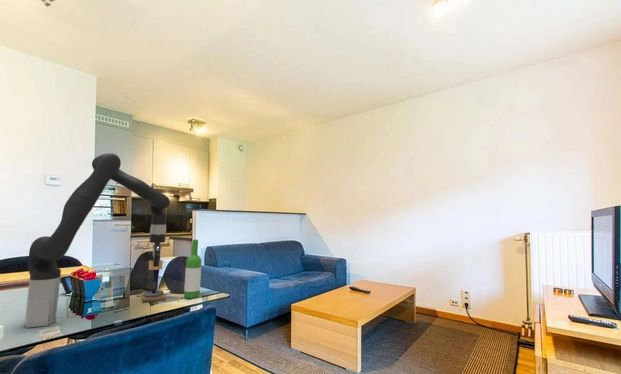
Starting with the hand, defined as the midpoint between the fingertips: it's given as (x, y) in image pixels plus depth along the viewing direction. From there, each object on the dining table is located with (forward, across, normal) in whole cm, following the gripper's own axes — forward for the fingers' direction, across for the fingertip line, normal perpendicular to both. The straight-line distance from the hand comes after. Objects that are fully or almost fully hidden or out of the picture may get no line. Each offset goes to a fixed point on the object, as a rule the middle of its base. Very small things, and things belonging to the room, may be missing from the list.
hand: (155, 265), depth 161 cm
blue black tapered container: (+17, -25, -33) cm, 45 cm away
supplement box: (+17, -6, -28) cm, 33 cm away
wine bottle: (+17, +6, +18) cm, 25 cm away
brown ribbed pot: (+2, 0, 0) cm, 2 cm away
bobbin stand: (+16, 0, 0) cm, 16 cm away
